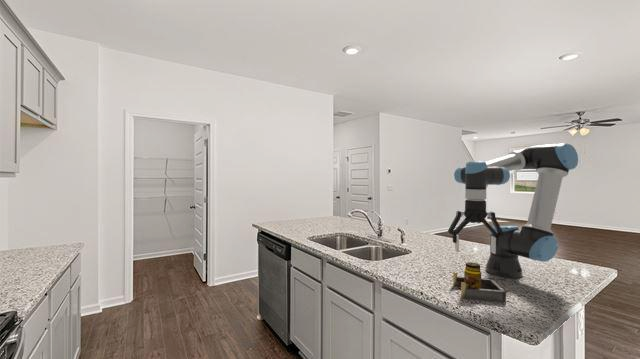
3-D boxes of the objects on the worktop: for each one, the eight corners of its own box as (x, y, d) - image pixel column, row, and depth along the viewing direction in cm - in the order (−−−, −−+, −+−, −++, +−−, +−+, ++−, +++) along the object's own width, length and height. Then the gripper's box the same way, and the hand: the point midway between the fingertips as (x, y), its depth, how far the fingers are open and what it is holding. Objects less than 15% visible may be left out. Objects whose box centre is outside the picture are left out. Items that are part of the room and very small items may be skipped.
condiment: (464, 295, 114) (465, 265, 113) (460, 287, 122) (460, 259, 122) (485, 297, 112) (486, 267, 112) (479, 289, 120) (479, 261, 120)
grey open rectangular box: (491, 288, 121) (492, 274, 121) (506, 302, 107) (506, 287, 107) (452, 285, 124) (452, 271, 124) (461, 298, 111) (461, 283, 110)
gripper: (505, 199, 117) (504, 251, 117) (440, 198, 122) (440, 247, 122) (514, 201, 109) (513, 256, 110) (444, 200, 114) (444, 252, 115)
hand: (474, 251), depth 116 cm, fingers open, 13 cm apart
